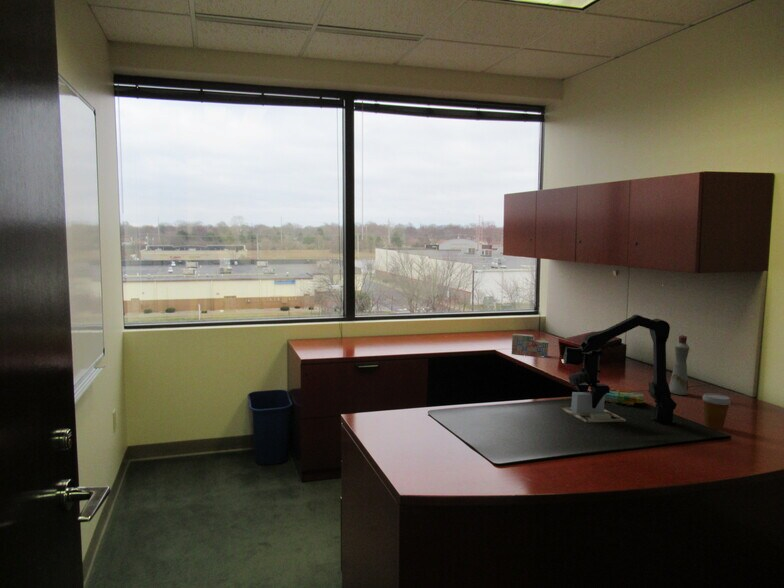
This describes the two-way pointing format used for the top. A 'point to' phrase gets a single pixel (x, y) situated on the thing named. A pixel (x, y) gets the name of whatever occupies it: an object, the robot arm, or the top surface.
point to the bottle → (680, 368)
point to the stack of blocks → (528, 346)
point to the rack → (594, 420)
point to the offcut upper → (599, 416)
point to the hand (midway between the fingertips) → (587, 405)
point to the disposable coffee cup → (715, 410)
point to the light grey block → (585, 403)
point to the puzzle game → (624, 397)
